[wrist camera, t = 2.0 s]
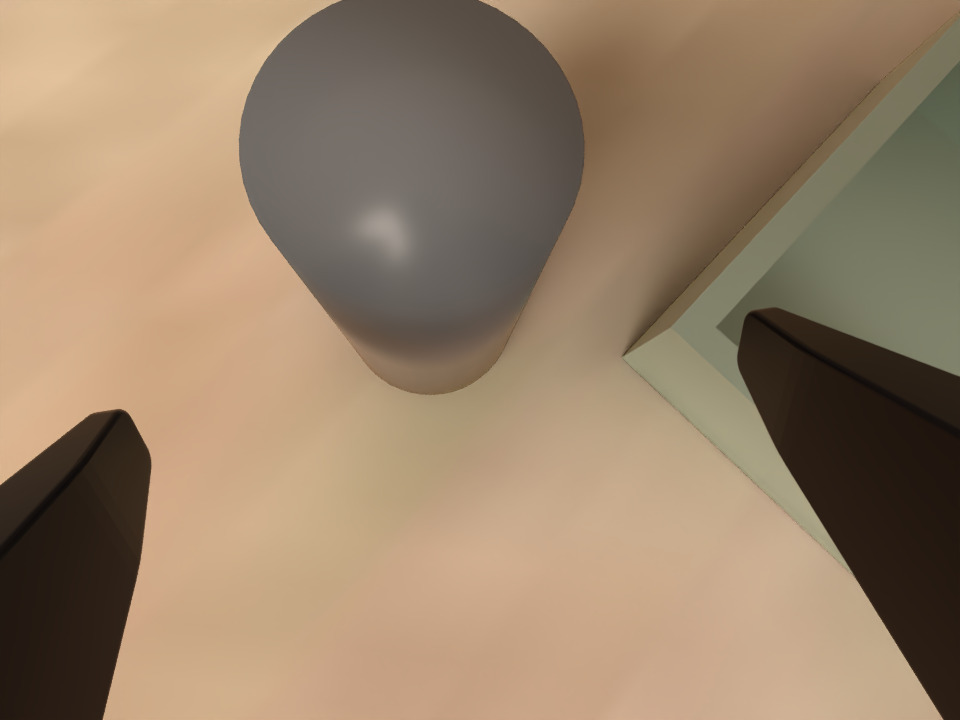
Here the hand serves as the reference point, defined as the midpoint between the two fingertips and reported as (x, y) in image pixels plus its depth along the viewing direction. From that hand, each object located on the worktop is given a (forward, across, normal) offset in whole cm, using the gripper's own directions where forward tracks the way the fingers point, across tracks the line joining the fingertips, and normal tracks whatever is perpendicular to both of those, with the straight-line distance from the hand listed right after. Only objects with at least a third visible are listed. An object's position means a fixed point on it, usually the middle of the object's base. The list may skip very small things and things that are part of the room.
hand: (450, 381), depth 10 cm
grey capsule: (+10, 0, +5) cm, 11 cm away
